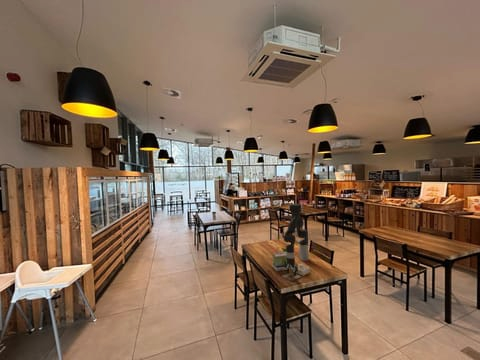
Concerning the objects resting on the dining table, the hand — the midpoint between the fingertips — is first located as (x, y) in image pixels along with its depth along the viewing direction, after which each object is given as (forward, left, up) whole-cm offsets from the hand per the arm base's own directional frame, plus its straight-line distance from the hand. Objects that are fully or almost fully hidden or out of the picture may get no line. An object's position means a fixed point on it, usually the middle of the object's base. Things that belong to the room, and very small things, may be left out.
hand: (291, 274), depth 185 cm
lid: (0, 0, -2) cm, 2 cm away
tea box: (-19, +8, -3) cm, 21 cm away
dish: (0, +15, -3) cm, 15 cm away
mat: (0, 0, -3) cm, 3 cm away
